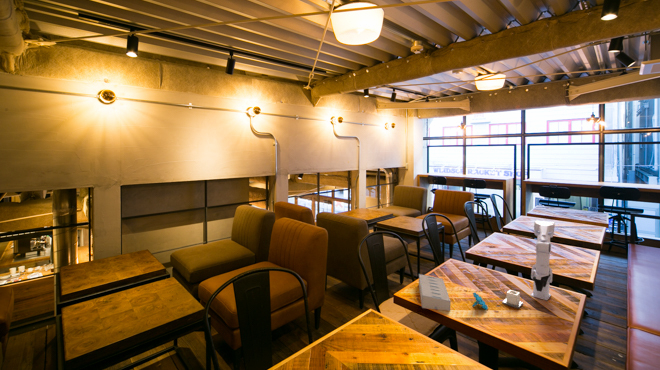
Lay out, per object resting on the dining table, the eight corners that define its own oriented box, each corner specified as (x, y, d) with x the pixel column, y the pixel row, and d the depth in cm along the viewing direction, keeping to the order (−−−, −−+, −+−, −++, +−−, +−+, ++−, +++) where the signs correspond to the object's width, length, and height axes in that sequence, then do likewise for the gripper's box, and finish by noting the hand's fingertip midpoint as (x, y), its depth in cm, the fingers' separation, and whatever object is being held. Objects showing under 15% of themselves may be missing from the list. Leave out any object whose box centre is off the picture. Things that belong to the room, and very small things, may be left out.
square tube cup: (509, 299, 167) (509, 289, 167) (519, 302, 163) (520, 292, 163) (506, 301, 164) (506, 291, 163) (516, 305, 160) (517, 294, 160)
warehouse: (450, 311, 157) (450, 297, 157) (421, 308, 161) (422, 295, 160) (442, 287, 186) (442, 275, 186) (418, 285, 190) (418, 273, 189)
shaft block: (507, 299, 169) (507, 289, 169) (523, 304, 163) (523, 294, 163) (502, 303, 164) (502, 293, 164) (518, 308, 158) (519, 298, 158)
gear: (488, 311, 153) (474, 294, 157) (479, 317, 155) (465, 300, 159) (489, 304, 163) (475, 289, 167) (480, 310, 165) (467, 294, 169)
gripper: (537, 259, 166) (536, 282, 168) (529, 265, 157) (528, 290, 158) (552, 262, 161) (551, 286, 162) (545, 269, 151) (544, 294, 153)
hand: (541, 288), depth 160 cm, fingers open, 7 cm apart
